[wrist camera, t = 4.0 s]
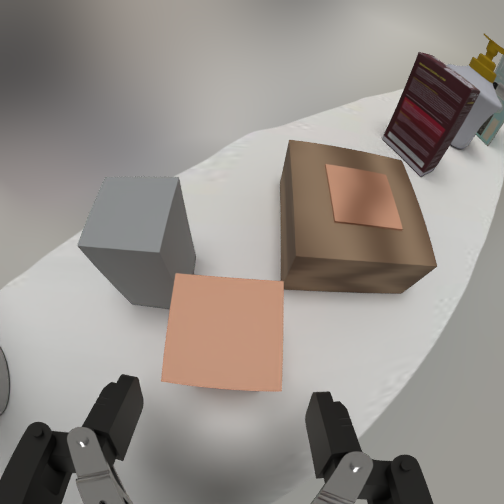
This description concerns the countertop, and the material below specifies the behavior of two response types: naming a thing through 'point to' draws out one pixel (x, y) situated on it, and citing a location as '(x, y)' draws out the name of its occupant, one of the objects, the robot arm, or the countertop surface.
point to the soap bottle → (487, 99)
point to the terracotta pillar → (225, 333)
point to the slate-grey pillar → (140, 237)
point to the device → (494, 122)
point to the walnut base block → (350, 222)
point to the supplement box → (429, 113)
